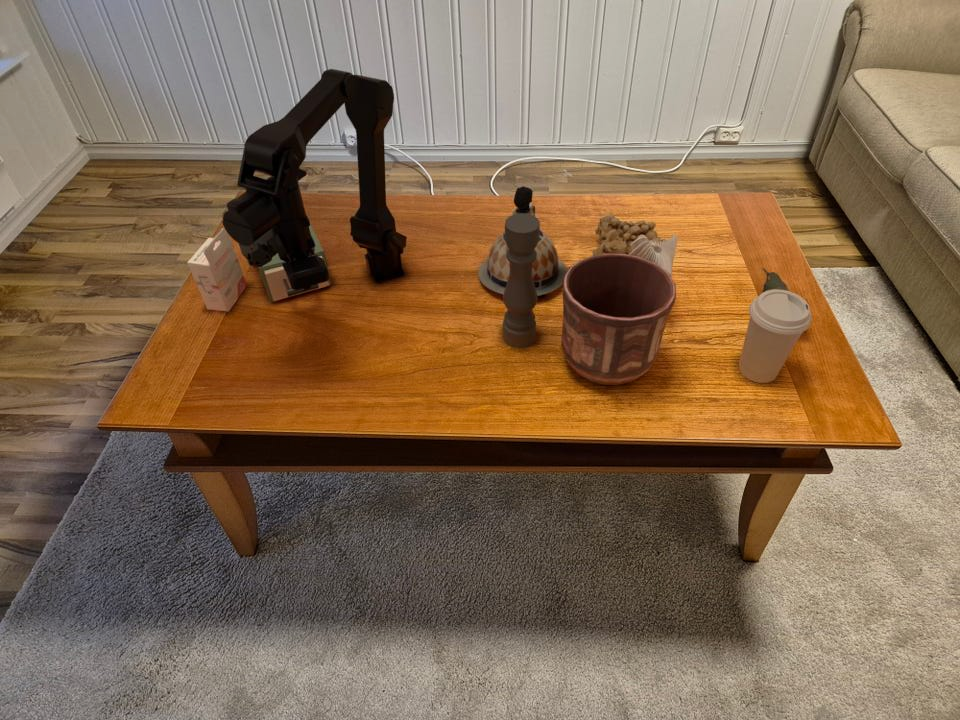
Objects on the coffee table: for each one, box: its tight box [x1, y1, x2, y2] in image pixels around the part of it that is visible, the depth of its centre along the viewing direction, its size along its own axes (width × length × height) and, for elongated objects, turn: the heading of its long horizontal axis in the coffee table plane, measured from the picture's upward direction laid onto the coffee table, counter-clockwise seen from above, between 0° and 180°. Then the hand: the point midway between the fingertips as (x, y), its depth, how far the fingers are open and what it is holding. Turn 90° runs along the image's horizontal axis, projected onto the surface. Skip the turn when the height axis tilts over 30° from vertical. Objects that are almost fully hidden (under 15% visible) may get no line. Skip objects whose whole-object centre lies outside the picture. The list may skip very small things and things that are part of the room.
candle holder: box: [502, 213, 541, 349], centre depth 115 cm, size 6×6×25 cm
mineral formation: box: [592, 213, 667, 259], centre depth 138 cm, size 8×13×15 cm
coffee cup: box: [738, 289, 812, 384], centre depth 111 cm, size 10×10×15 cm
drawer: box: [264, 256, 330, 302], centre depth 133 cm, size 18×11×7 cm, turn 25°
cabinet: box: [257, 223, 332, 303], centre depth 136 cm, size 15×13×9 cm
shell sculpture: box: [629, 234, 679, 279], centre depth 122 cm, size 8×8×18 cm
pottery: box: [560, 254, 677, 386], centre depth 112 cm, size 18×18×18 cm
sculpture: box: [761, 267, 790, 293], centre depth 126 cm, size 5×19×5 cm, turn 3°
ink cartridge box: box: [186, 227, 248, 313], centre depth 128 cm, size 9×5×15 cm, turn 168°
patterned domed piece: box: [477, 185, 568, 299], centre depth 130 cm, size 18×18×20 cm
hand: (306, 288), depth 116 cm, fingers closed
